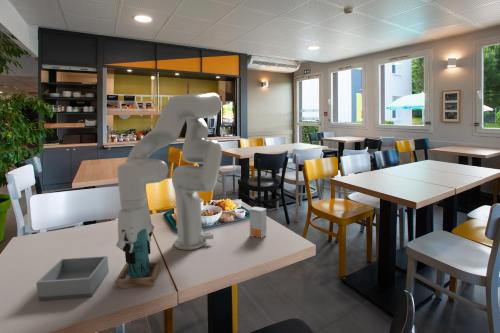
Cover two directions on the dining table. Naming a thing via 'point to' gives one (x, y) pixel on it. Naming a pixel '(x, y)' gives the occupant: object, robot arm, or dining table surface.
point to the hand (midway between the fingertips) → (138, 257)
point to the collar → (138, 282)
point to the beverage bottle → (140, 256)
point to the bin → (73, 278)
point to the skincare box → (258, 221)
